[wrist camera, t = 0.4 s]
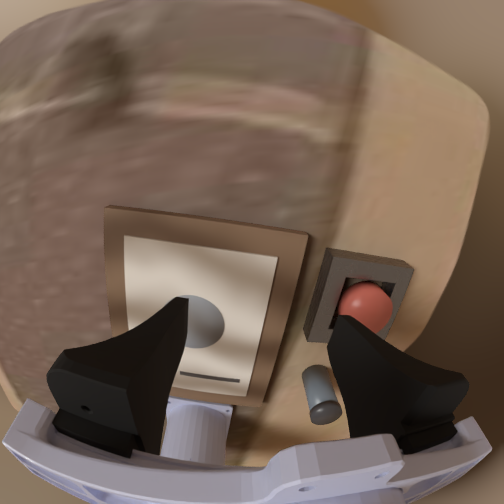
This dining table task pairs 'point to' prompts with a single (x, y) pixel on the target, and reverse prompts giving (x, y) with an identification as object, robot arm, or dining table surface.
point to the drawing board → (206, 293)
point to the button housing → (331, 283)
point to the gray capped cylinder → (320, 395)
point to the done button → (366, 305)
